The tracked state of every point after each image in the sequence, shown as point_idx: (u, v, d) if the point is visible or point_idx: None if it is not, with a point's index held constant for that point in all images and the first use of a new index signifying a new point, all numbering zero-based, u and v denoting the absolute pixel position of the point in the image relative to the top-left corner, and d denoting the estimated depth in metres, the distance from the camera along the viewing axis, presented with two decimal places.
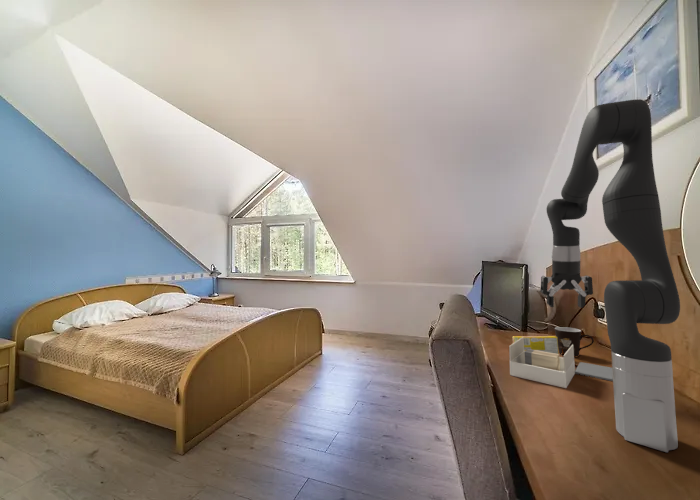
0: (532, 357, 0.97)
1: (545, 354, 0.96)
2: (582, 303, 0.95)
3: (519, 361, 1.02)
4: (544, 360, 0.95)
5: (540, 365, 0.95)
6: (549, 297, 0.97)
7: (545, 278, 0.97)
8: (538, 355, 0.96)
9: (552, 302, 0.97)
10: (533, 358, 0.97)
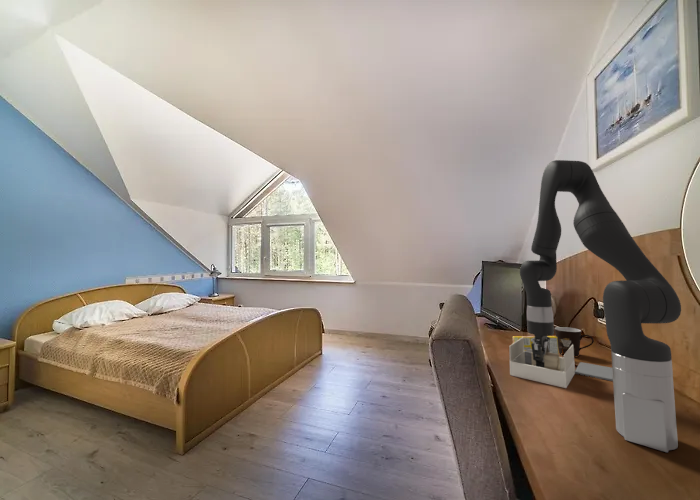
0: (532, 357, 0.97)
1: None
2: None
3: (519, 361, 1.02)
4: None
5: None
6: (542, 363, 0.94)
7: (540, 346, 0.92)
8: (538, 355, 0.96)
9: None
10: None
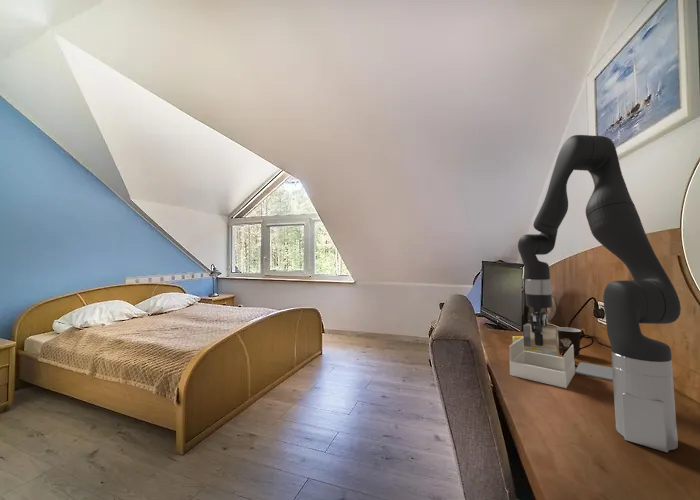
0: (531, 330, 0.97)
1: None
2: None
3: (519, 361, 1.02)
4: (543, 333, 0.95)
5: None
6: (540, 335, 0.94)
7: (539, 317, 0.92)
8: (536, 328, 0.96)
9: (542, 340, 0.95)
10: None
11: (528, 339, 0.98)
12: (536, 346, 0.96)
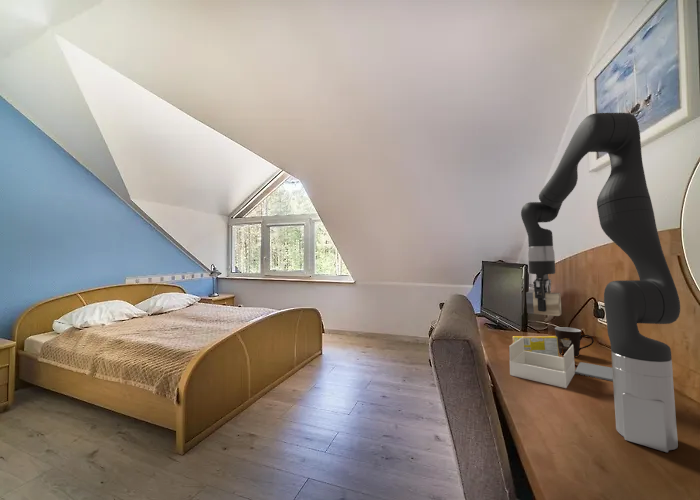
0: (534, 297, 0.98)
1: None
2: None
3: (519, 361, 1.02)
4: None
5: None
6: (543, 301, 0.95)
7: (542, 282, 0.93)
8: (539, 294, 0.97)
9: (545, 306, 0.95)
10: (535, 298, 0.98)
11: (531, 306, 0.98)
12: (539, 312, 0.97)
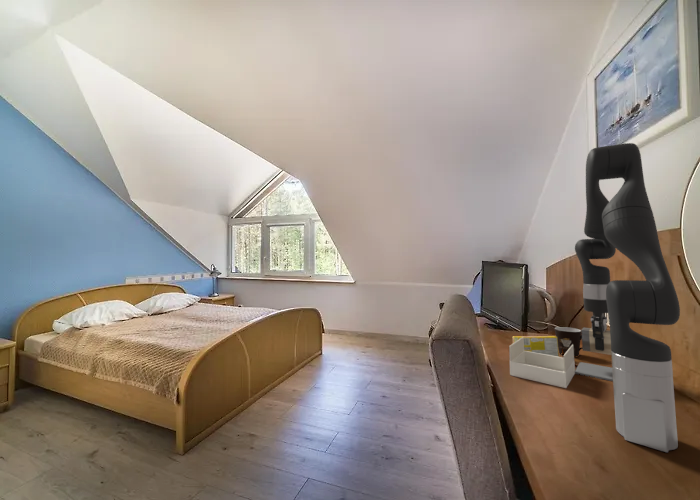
0: (590, 335, 0.97)
1: None
2: None
3: (519, 361, 1.02)
4: None
5: None
6: (601, 340, 0.94)
7: (601, 322, 0.92)
8: (597, 332, 0.96)
9: (603, 345, 0.95)
10: (591, 336, 0.97)
11: (587, 343, 0.98)
12: (596, 351, 0.96)
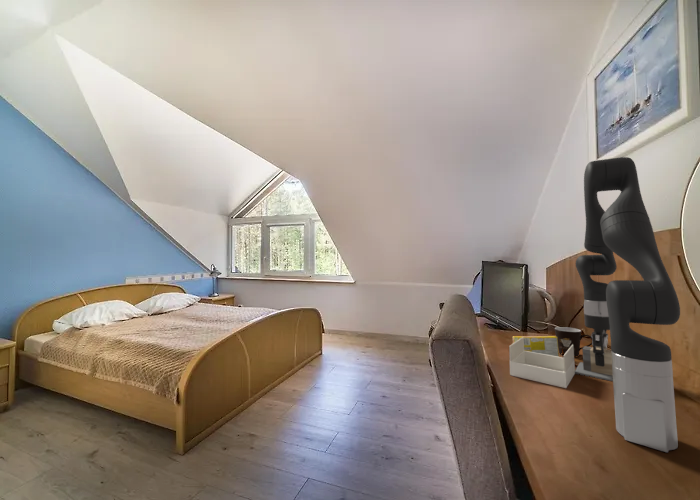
0: (591, 354, 0.97)
1: (605, 351, 0.95)
2: None
3: (519, 361, 1.02)
4: (604, 357, 0.94)
5: None
6: (602, 356, 0.93)
7: (602, 336, 0.92)
8: None
9: None
10: (592, 355, 0.97)
11: (589, 363, 0.97)
12: (597, 370, 0.96)
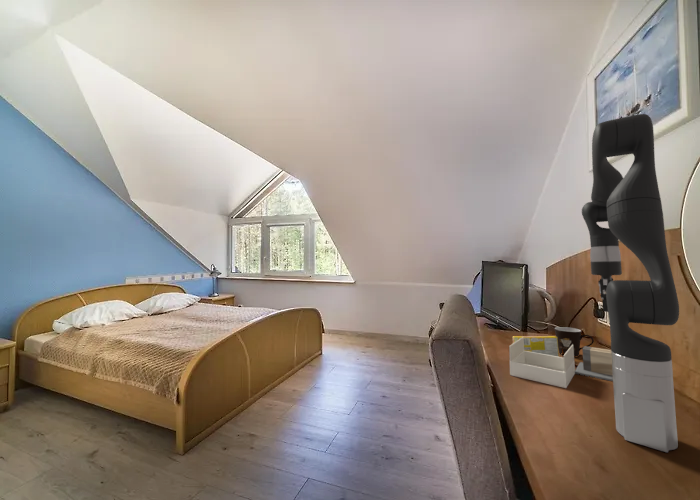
0: (591, 354, 0.97)
1: (605, 351, 0.95)
2: None
3: (519, 361, 1.02)
4: (604, 357, 0.94)
5: (600, 362, 0.95)
6: None
7: (610, 280, 0.89)
8: (598, 352, 0.96)
9: None
10: (592, 355, 0.97)
11: (589, 363, 0.97)
12: (597, 370, 0.96)
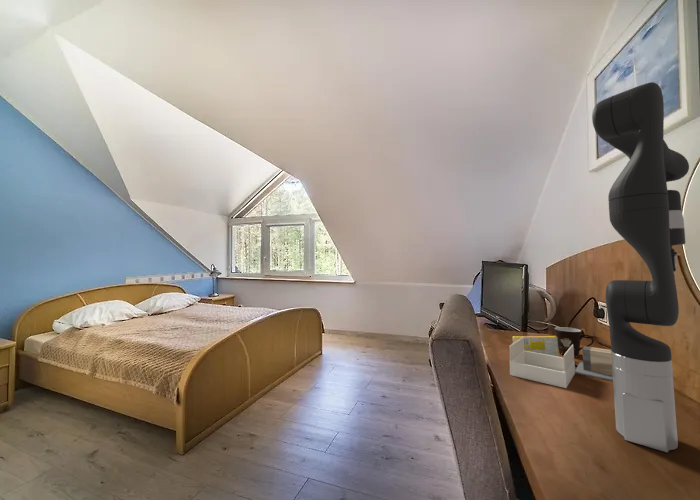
0: (591, 354, 0.97)
1: (605, 351, 0.95)
2: None
3: (519, 361, 1.02)
4: (604, 357, 0.94)
5: (600, 362, 0.95)
6: None
7: (673, 250, 0.75)
8: (598, 352, 0.96)
9: None
10: (592, 355, 0.97)
11: (589, 363, 0.97)
12: (597, 370, 0.96)
